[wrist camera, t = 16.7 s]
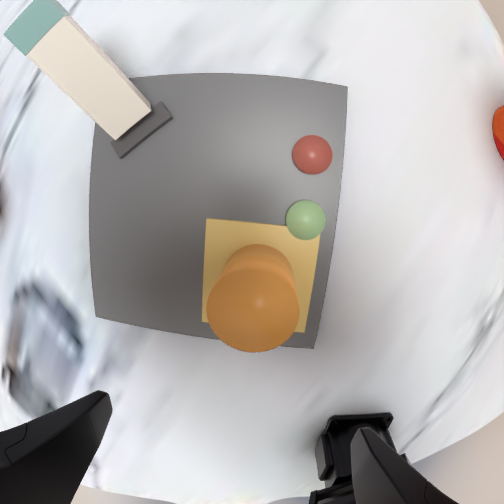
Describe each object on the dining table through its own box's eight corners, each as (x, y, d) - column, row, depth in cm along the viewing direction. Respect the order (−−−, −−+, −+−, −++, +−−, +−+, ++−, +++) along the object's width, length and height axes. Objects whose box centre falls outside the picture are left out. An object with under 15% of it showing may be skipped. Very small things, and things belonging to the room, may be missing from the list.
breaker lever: (152, 110, 15) (41, -8, 6) (114, 141, 16) (3, 34, 7) (150, 102, 16) (49, -7, 7) (115, 131, 17) (13, 30, 8)
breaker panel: (344, 90, 16) (349, 84, 15) (312, 343, 20) (314, 352, 19) (107, 85, 17) (98, 80, 16) (100, 312, 21) (92, 319, 20)
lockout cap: (297, 248, 18) (306, 274, 13) (287, 313, 19) (291, 356, 14) (225, 240, 18) (208, 262, 13) (221, 305, 19) (204, 345, 14)
